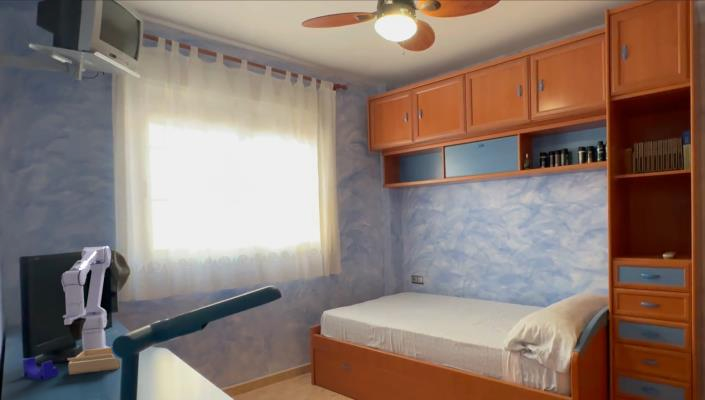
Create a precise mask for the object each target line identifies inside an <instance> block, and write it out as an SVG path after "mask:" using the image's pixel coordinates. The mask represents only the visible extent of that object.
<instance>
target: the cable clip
mask: <svg viewBox="0 0 705 400" xmlns="http://www.w3.org/2000/svg"><path fill="white" fill-rule="evenodd" d="M53 363H54V361H53V360H51V359H49V360H47V361H44V362H41V363H40V368H39V366H37V363H36V358H35V357H33V356H32V357H29V358H26V359H23V360H22V364H23V377H26V378H30V379H35V380H36V379H37V380H40V381H44V382H45V381H47V380H49V379H52V378H55V377H58V376H59V373H58V372H59V369H58V367H56V366H54V364H53Z"/></svg>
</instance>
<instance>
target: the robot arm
mask: <svg viewBox="0 0 705 400" xmlns="http://www.w3.org/2000/svg"><path fill="white" fill-rule="evenodd" d="M111 259H112V250H111V248H110V246H108V245H105V246H93V247H92V246H90V247H86V246H84V247H83V249H82V250H81V259H80V260H77V261H76V262H75V263H74V264H73V265H72V267H70V269H69V270H67V271H66V270H65V272H63V273H62V275H61V286H62V287H63V292H64V294H65V297H64V298H65V314H64V315H62V318H63V319H64V320H63V323H64V326H66V327H67V328H68V330H69V332H70V335H71V337H72V340H73V341H74V340H80V339H81V341H82V343H81V344H82V351H84V350H90V349H98V348H107V347H109V345H107V343H106V342H107V340H106V332H105V330H104V329H105V328H106V327H107V325H108V324H107V323H108V317H107V316H108V313H107V310H106V309H105V308H103V307H101V302H102V295H103V287H104V280H105V279H104V278H105V273H106V270H107V269H108V268H109V267H110V264H111ZM90 270H91V275H90V281H89V288H88V295H87V301H86V306H85V299H84V297H85V296H84V295H85V294H84V285H85V283H86V281H87V280H86V279H87V275H88V273H89V271H90Z"/></svg>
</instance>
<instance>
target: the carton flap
mask: <svg viewBox="0 0 705 400" xmlns="http://www.w3.org/2000/svg"><path fill="white" fill-rule="evenodd" d="M112 357H114V355H113V354H111V353H108V354H99V355H91V356H82V357H76V356H74V357H67V361H69V362H70V361H71V362H79V361H87V360H95V359H104V358H112Z"/></svg>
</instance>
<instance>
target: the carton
mask: <svg viewBox="0 0 705 400" xmlns="http://www.w3.org/2000/svg"><path fill="white" fill-rule="evenodd" d="M111 347H112V346H108V347H107V348H98V349H90V350H84V351H83V350H82V351H81V352H80V353H78V354H77V355H76V356H75V357H82V356H91V355H99V354H108V353H111V354H112V350H111ZM67 368H68V375H78V374H86V373H94V372H95V373H96V372H101V371H103V372H104V371H110V370H111V371H112V370H118V369H120V368H121V367H120V361H119V360H118V359H117V358H115V357H112V358H104V359H95V360H87V361H79V362H71V361H69V362H68V367H67Z"/></svg>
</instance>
